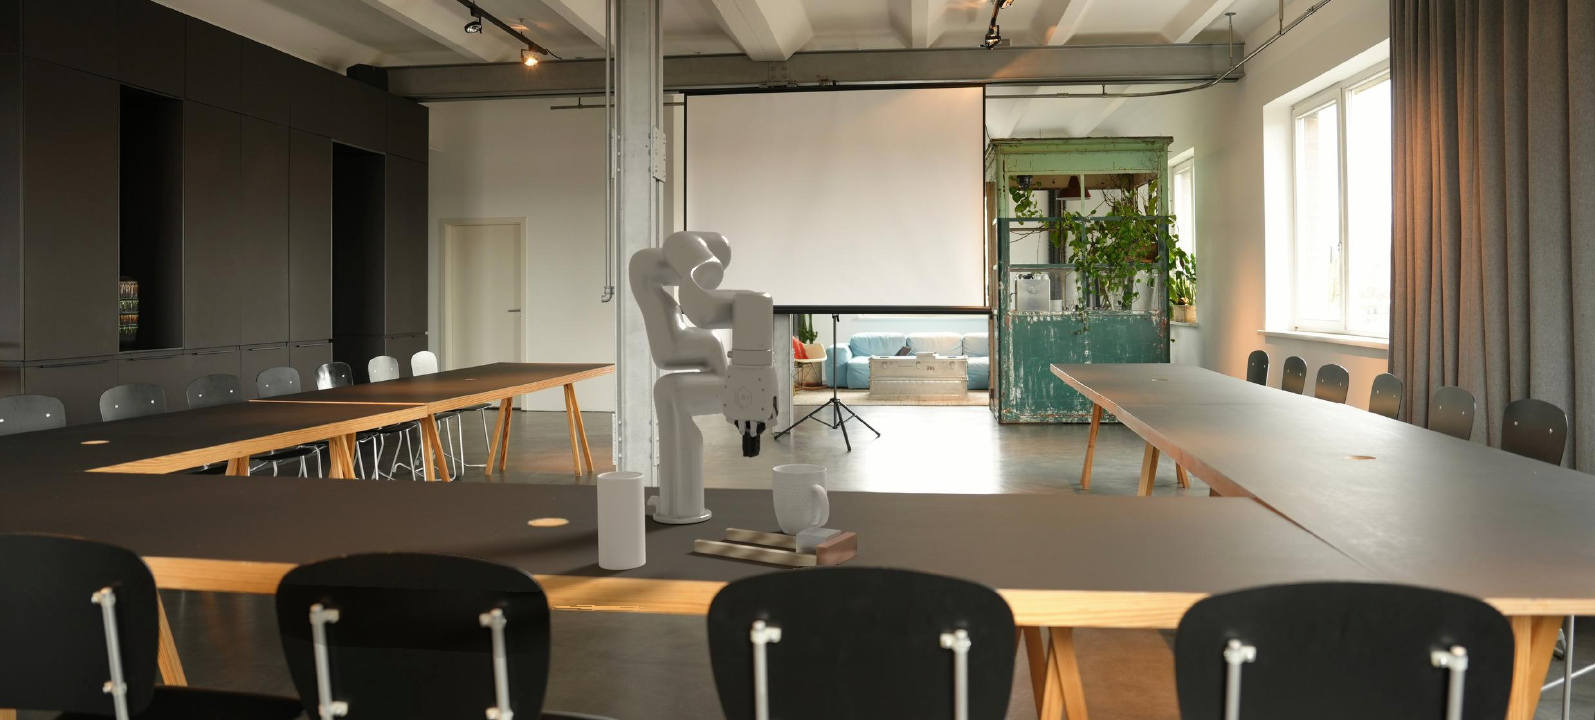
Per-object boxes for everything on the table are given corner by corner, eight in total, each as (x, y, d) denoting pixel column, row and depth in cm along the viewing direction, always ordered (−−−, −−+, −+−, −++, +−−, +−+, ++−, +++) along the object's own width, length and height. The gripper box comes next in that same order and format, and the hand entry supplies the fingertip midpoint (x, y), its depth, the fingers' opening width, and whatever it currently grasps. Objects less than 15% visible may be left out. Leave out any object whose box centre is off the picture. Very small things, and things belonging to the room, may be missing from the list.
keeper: (796, 561, 172) (796, 533, 172) (812, 553, 177) (811, 526, 177) (825, 565, 169) (825, 537, 169) (841, 557, 175) (840, 530, 174)
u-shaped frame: (694, 551, 179) (693, 530, 179) (729, 537, 189) (729, 517, 189) (826, 570, 165) (826, 547, 165) (857, 554, 176) (857, 533, 175)
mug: (849, 537, 189) (849, 471, 188) (803, 545, 183) (802, 477, 182) (807, 523, 201) (806, 461, 201) (762, 530, 195) (761, 467, 194)
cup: (601, 558, 175) (599, 471, 174) (647, 556, 176) (645, 470, 175) (596, 570, 167) (594, 479, 166) (643, 568, 167) (642, 478, 167)
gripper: (707, 357, 178) (706, 454, 180) (776, 362, 171) (775, 464, 173) (729, 354, 185) (728, 448, 186) (797, 359, 177) (795, 457, 179)
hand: (751, 455), depth 179 cm, fingers closed
